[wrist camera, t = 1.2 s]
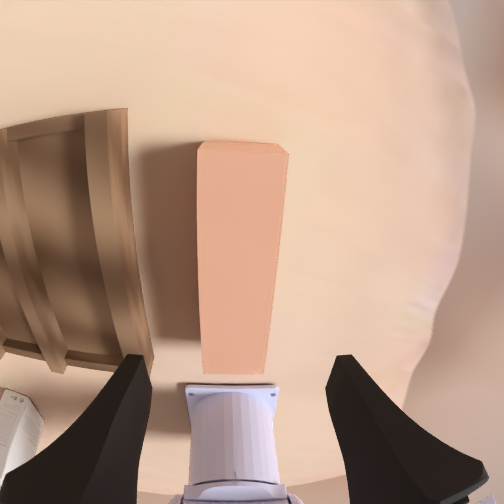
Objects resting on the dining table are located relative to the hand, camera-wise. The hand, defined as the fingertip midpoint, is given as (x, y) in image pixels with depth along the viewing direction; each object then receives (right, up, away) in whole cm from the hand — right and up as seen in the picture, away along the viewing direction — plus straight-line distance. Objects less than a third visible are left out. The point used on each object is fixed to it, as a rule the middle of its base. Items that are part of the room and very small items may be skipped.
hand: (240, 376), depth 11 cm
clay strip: (-1, +4, +8) cm, 10 cm away
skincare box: (-28, -15, +16) cm, 35 cm away
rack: (-15, +4, +7) cm, 17 cm away
